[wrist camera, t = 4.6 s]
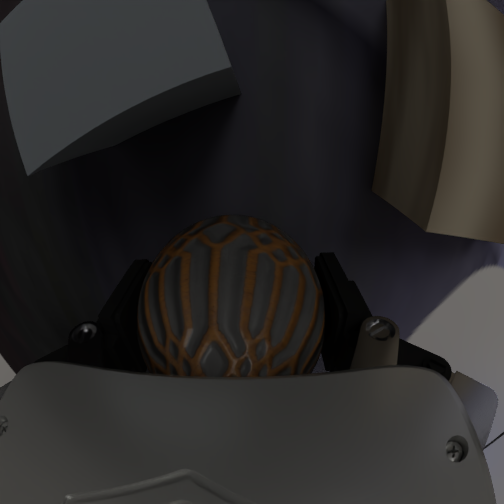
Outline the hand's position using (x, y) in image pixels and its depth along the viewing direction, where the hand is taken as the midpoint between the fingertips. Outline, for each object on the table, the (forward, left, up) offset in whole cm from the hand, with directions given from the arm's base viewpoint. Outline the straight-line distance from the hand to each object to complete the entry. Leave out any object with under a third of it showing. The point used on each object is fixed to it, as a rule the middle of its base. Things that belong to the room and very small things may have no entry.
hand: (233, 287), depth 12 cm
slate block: (+3, -10, -2) cm, 11 cm away
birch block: (-12, -8, -2) cm, 15 cm away
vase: (0, 0, -2) cm, 2 cm away
